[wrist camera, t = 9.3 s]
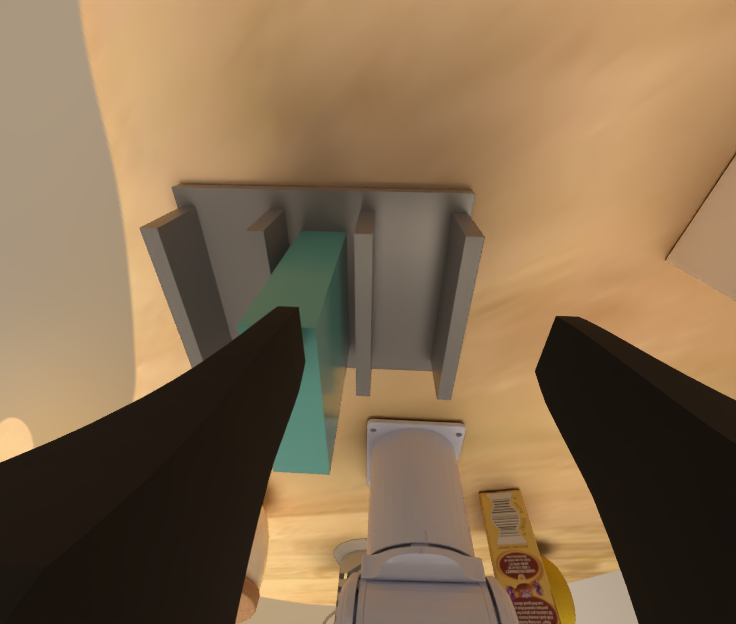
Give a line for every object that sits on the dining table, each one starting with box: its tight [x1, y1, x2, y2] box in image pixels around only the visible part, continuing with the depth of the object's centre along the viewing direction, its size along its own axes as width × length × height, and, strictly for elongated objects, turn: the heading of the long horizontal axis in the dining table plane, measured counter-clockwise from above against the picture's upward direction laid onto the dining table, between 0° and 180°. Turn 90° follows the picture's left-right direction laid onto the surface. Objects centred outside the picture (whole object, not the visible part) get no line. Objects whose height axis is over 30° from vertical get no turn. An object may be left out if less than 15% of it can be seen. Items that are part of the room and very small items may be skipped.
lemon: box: [541, 556, 576, 624], centre depth 35 cm, size 6×6×8 cm
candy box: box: [479, 490, 561, 624], centre depth 28 cm, size 9×4×15 cm, turn 18°
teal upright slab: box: [237, 231, 350, 475], centre depth 16 cm, size 8×2×9 cm, turn 0°
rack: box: [140, 184, 485, 400], centre depth 19 cm, size 12×16×4 cm
